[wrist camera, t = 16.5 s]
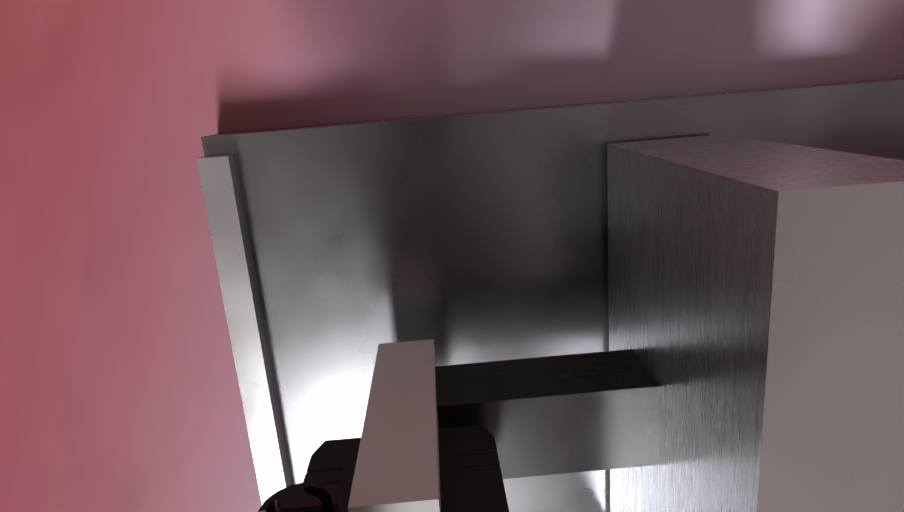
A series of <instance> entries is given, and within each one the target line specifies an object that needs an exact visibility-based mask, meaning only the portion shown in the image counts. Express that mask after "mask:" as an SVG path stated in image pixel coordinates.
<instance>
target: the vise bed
mask: <svg viewBox="0 0 904 512" xmlns="http://www.w3.org/2000/svg"><path fill="white" fill-rule="evenodd" d="M718 134H720V135H727V136H735V137H742V138H749V139H756V140H763V141H770V142H777V143H784V144H792V145H799V146H806V147H813V148H820V149H827V150H834V151H842V152H849V153H856V154H863V155H870V156H877V157H884V158H891V159H899V160H904V78H903V79H891V80H878V81H866V82H853V83H841V84H829V85H816V86H804V87H792V88H779V89H767V90H755V91H742V92H730V93H718V94H705V95H693V96H680V97H668V98H656V99H643V100H631V101H619V102H606V103H594V104H582V105H569V106H557V107H544V108H532V109H520V110H507V111H495V112H483V113H470V114H458V115H446V116H433V117H421V118H408V119H396V120H384V121H371V122H359V123H347V124H334V125H322V126H310V127H297V128H285V129H273V130H260V131H248V132H235V133H223V134H214V135H209V136H204V137H201V139H202V144H203V150H204V155H205V156H204V157H200V158H197V159H196V160H197V165H198V171H199V176H200V181H201V186H202V192H203V197H204V202H205V208H206V213H207V218H208V223H209V229H210V234H211V239H212V245H213V250H214V255H215V260H216V266H217V271H218V276H219V281H220V287H221V292H222V297H223V303H224V308H225V313H226V318H227V324H228V329H229V334H230V340H231V345H232V350H233V355H234V361H235V366H236V371H237V377H238V382H239V387H240V392H241V398H242V403H243V408H244V413H245V419H246V424H247V429H248V435H249V440H250V445H251V450H252V456H253V461H254V466H255V472H256V477H257V482H258V487H259V493H260V498H261V503H262V505H263V503H264V502H265V500H267V499H268V498H269V497H270V496H272V495H273V494H274V493H276V492H277V491H279V490H281V489H284V488H286V487H288V486H290V485H294V484H298V483H303V481H304V478H305V474H307V468H308V465H309V462H310V459H311V455H312V454H313V453H314V452H315V451H316V450H317V449H318V448H319V447H320V446H321V445H322V444H323V443H324V441H326V440H337V439H349V438H360V437H361V435H362V430H363V425H364V419H365V414H366V409H367V403H368V398H369V393H370V388H371V382H372V377H373V372H374V366H375V361H376V356H377V351H378V345H379V344H383V343H394V342H406V341H417V340H429V339H434V349H435V360H436V366H446V365H457V364H469V363H480V362H491V361H503V360H514V359H525V358H537V357H548V356H559V355H570V354H582V353H593V352H604V351H609V311H608V192H607V144H608V143H620V142H633V141H645V140H657V139H669V138H681V137H694V136H706V135H718ZM503 483H504V488H505V493H506V498H507V503H508V508H509V512H610V469H608V470H597V471H586V472H575V473H564V474H554V475H543V476H532V477H521V478H510V479H503Z"/></svg>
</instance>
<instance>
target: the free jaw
mask: <svg viewBox="0 0 904 512" xmlns="http://www.w3.org/2000/svg"><path fill="white" fill-rule="evenodd" d="M607 192H608V311H609V351H604V352H593V353H582V354H570V355H559V356H548V357H537V358H525V359H514V360H503V361H491V362H480V363H469V364H457V365H446V366H435V374H436V404H437V416H438V427H439V429H441V428H452V427H463V426H474V425H483V426H484V427H485V428H486V429H487V430H488V431H489V432H490V433H491V434H492V435H493V436H494V437H495V442H496V447H497V453H498V457H499V462H500V467H501V472H502V478H503V479H510V478H521V477H532V476H543V475H554V474H564V473H575V472H586V471H597V470H608V469H610V512H904V160H899V159H891V158H884V157H877V156H870V155H863V154H856V153H849V152H842V151H834V150H827V149H820V148H813V147H806V146H799V145H792V144H784V143H777V142H770V141H763V140H756V139H749V138H742V137H735V136H727V135H720V134H718V135H706V136H694V137H681V138H669V139H657V140H645V141H633V142H620V143H608V144H607Z"/></svg>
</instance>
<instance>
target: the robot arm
mask: <svg viewBox="0 0 904 512" xmlns="http://www.w3.org/2000/svg"><path fill="white" fill-rule="evenodd" d="M435 366H436V360H435V349H434V339H429V340H417V341H406V342H394V343H383V344H379V345H378V351H377V356H376V361H375V366H374V372H373V377H372V382H371V388H370V393H369V398H368V403H367V409H366V414H365V419H364V425H363V430H362V435H361V437H360V438H349V439H337V440H326V441H324V443H323V444H322V445H321V446H320V447H319V448H318V449H317V450H316V451H315V452H314V453H313V454H312V455H311V459H310V462H309V465H308V468H307V474H305V478H304V481H303V483H298V484H294V485H290V486H288V487H286V488H284V489H281V490H279V491H277V492H276V493H274V494H273V495H272V496H270V497H269V498H268V499H267V500H265V502H264V503H263V505H262V506H261V508H260V509H259V510H258V512H509V508H508V503H507V498H506V493H505V488H504V483H503V478H502V472H501V467H500V462H499V457H498V453H497V447H496V442H495V437H494V436H493V435H492V434H491V433H490V432H489V431H488V430H487V429H486V428H485V427H484V426H483V425H474V426H463V427H452V428H441V429H439V427H438V416H437V404H436V374H435Z"/></svg>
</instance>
